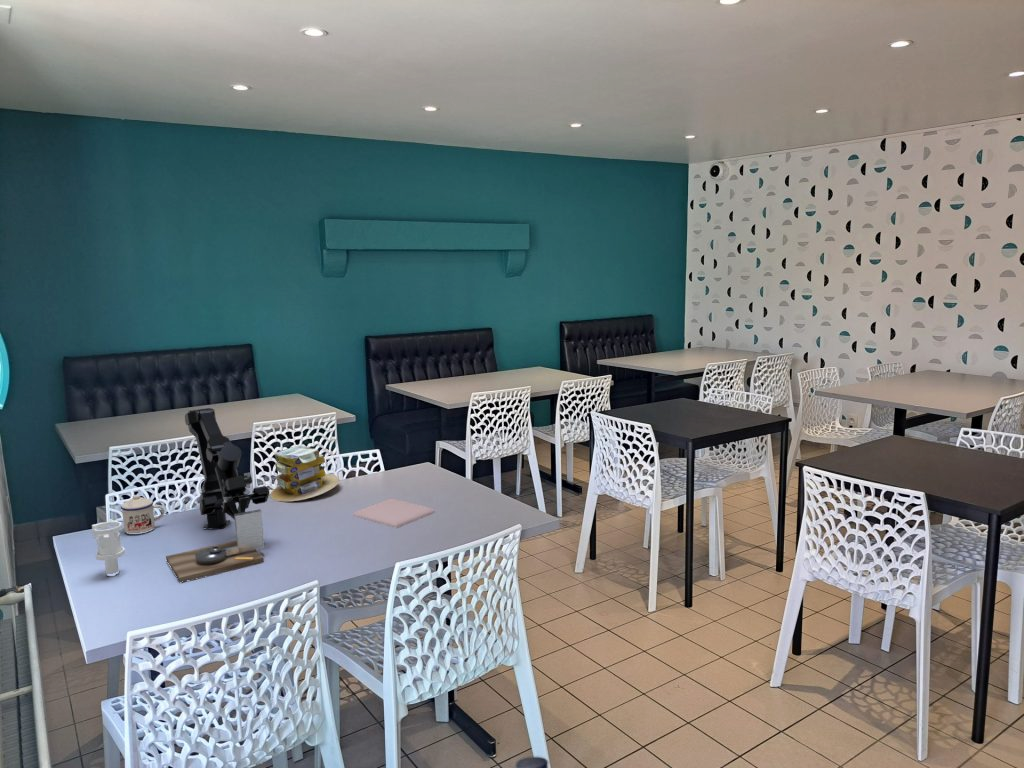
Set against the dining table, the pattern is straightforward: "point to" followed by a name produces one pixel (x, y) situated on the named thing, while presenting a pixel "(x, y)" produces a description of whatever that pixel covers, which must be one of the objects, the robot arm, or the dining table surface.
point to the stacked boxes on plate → (301, 474)
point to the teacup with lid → (139, 514)
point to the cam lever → (238, 538)
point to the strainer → (108, 544)
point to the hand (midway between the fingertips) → (242, 525)
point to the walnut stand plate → (190, 569)
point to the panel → (394, 512)
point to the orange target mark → (244, 558)
